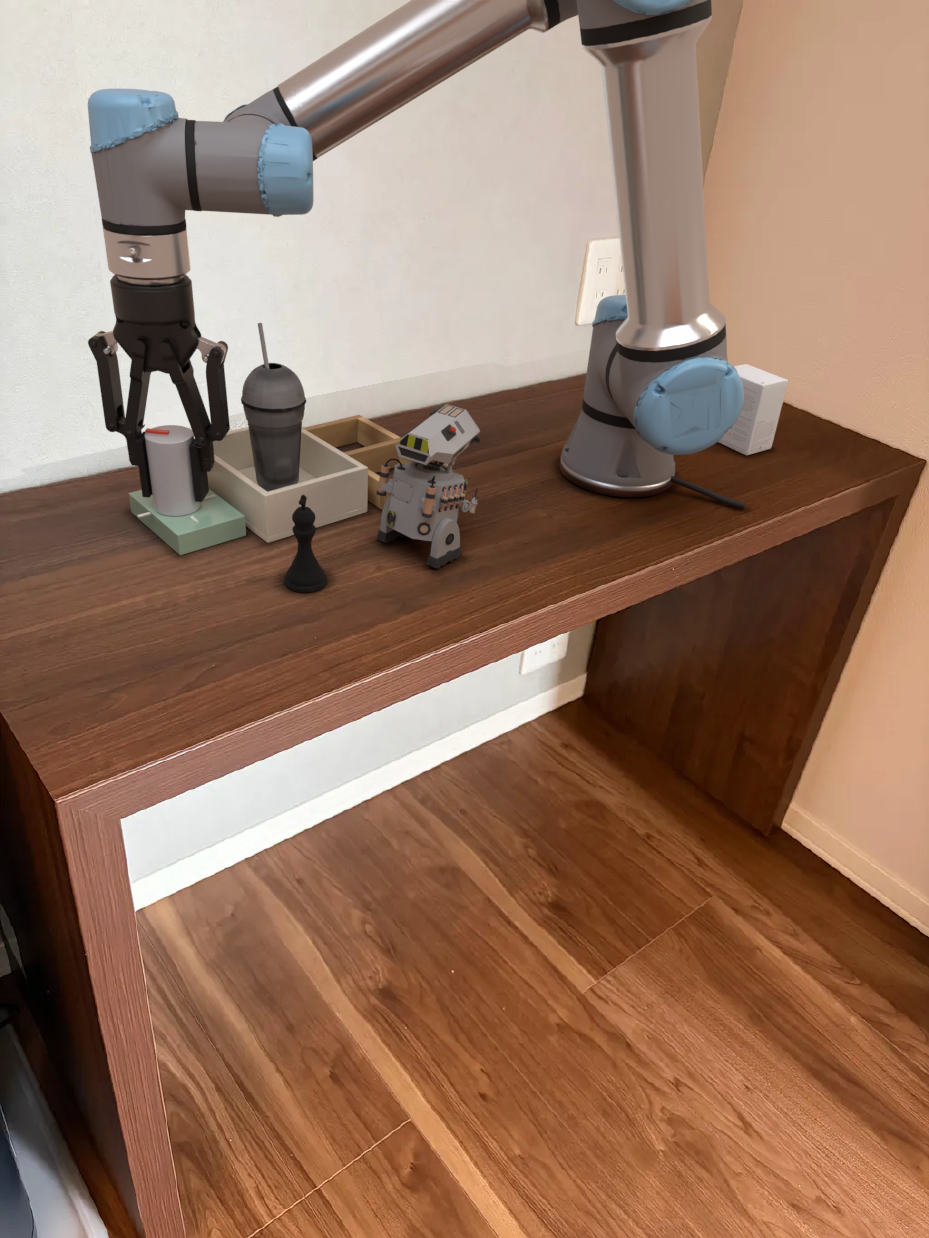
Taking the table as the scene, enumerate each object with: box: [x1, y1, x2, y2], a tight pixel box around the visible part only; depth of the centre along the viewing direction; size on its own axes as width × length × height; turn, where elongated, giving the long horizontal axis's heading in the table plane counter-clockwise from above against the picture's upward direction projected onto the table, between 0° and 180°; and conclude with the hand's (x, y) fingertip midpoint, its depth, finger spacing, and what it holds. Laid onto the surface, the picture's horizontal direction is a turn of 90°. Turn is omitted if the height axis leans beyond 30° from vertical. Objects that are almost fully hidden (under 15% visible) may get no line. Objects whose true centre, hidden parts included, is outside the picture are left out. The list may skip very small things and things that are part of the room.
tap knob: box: [144, 424, 201, 516], centre depth 99 cm, size 5×5×9 cm
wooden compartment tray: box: [302, 414, 448, 510], centre depth 117 cm, size 20×10×4 cm, turn 41°
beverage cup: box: [240, 322, 307, 492], centre depth 105 cm, size 7×7×20 cm
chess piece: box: [283, 495, 328, 594], centre depth 92 cm, size 4×4×10 cm
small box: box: [717, 363, 789, 456], centre depth 133 cm, size 8×6×10 cm
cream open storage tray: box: [207, 426, 369, 544], centre depth 109 cm, size 18×14×6 cm
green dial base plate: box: [128, 489, 247, 556], centre depth 103 cm, size 12×10×3 cm
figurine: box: [376, 403, 481, 569], centre depth 100 cm, size 9×12×15 cm
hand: (176, 493), depth 101 cm, fingers closed on tap knob, 5 cm apart
